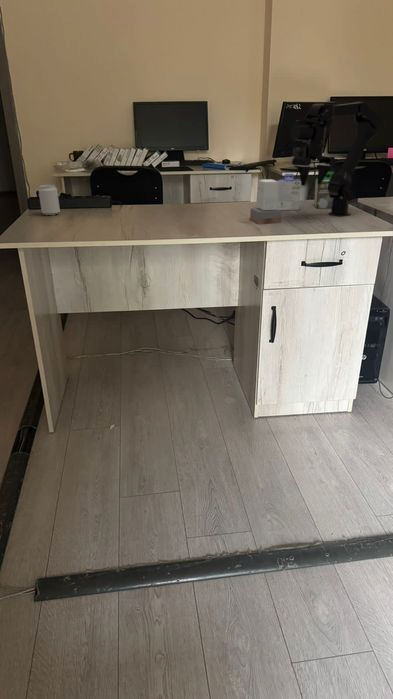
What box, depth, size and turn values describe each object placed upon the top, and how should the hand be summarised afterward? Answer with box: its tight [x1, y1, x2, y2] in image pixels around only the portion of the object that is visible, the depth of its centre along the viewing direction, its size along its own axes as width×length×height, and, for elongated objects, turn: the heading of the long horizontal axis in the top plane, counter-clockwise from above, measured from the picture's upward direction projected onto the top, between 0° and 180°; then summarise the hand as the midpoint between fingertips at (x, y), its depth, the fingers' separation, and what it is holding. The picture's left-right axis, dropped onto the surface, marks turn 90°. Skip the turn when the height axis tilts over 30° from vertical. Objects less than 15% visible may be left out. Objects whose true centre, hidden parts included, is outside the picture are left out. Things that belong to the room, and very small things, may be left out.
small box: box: [256, 178, 278, 210], centre depth 193 cm, size 8×6×10 cm
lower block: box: [249, 215, 282, 225], centre depth 197 cm, size 9×9×2 cm
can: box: [38, 184, 61, 214], centre depth 213 cm, size 8×8×12 cm
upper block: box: [250, 207, 282, 219], centre depth 196 cm, size 9×9×2 cm
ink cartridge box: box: [276, 173, 302, 211], centre depth 216 cm, size 10×6×14 cm, turn 87°
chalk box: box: [313, 171, 335, 209], centre depth 220 cm, size 9×9×15 cm
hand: (311, 184), depth 195 cm, fingers open, 9 cm apart
